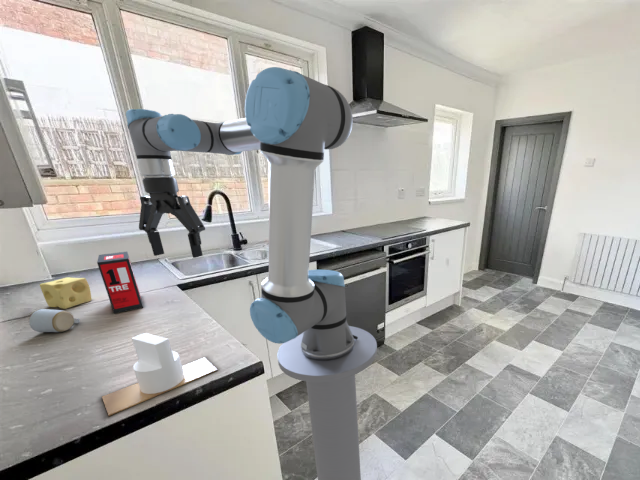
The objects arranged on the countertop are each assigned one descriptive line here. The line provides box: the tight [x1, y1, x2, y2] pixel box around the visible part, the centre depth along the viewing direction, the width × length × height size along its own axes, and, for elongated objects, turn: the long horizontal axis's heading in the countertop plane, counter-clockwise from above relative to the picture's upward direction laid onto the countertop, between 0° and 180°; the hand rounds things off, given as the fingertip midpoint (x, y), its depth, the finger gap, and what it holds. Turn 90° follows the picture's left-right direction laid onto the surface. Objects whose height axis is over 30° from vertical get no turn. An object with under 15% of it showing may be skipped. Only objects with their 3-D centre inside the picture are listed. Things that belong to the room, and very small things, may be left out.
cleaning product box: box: [96, 251, 144, 314], centre depth 122 cm, size 16×9×20 cm, turn 40°
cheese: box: [39, 276, 93, 310], centre depth 126 cm, size 10×11×10 cm
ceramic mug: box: [28, 308, 80, 333], centre depth 104 cm, size 11×8×8 cm
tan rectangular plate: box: [101, 356, 218, 417], centre depth 76 cm, size 22×9×1 cm, turn 138°
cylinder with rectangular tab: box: [131, 332, 184, 394], centre depth 74 cm, size 9×9×12 cm
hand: (178, 255), depth 88 cm, fingers open, 13 cm apart
